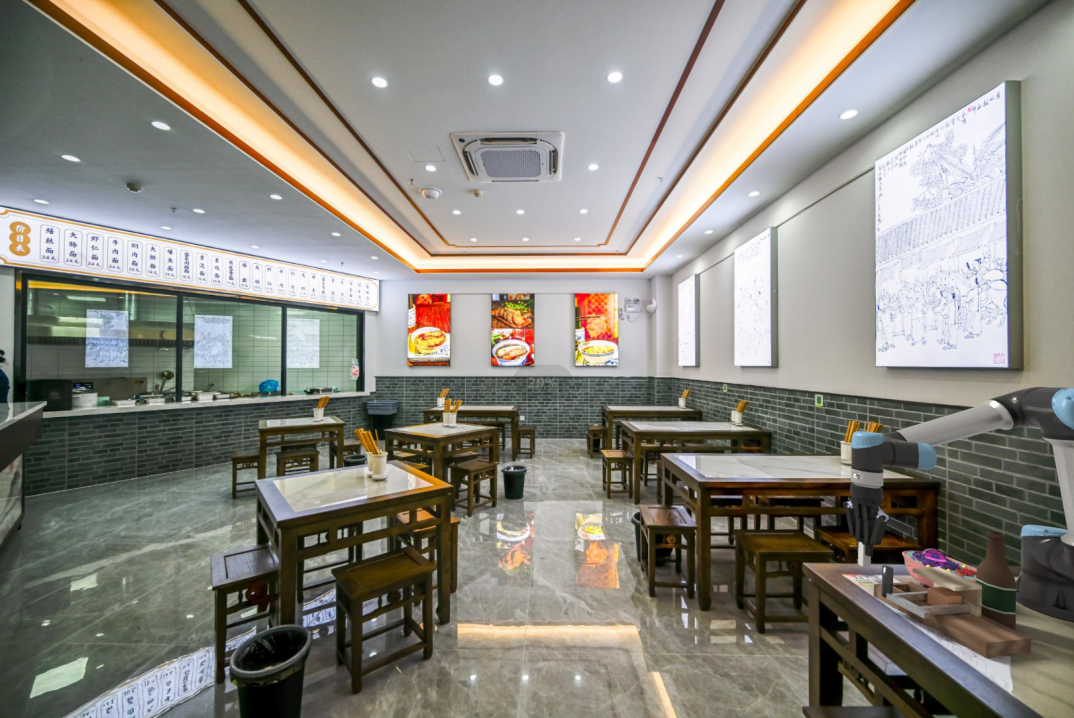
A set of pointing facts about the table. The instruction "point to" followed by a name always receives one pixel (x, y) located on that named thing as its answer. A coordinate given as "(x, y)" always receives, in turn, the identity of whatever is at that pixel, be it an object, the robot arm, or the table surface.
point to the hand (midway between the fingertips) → (864, 565)
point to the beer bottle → (997, 583)
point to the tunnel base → (965, 627)
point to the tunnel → (955, 586)
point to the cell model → (936, 565)
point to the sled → (916, 599)
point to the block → (942, 596)
